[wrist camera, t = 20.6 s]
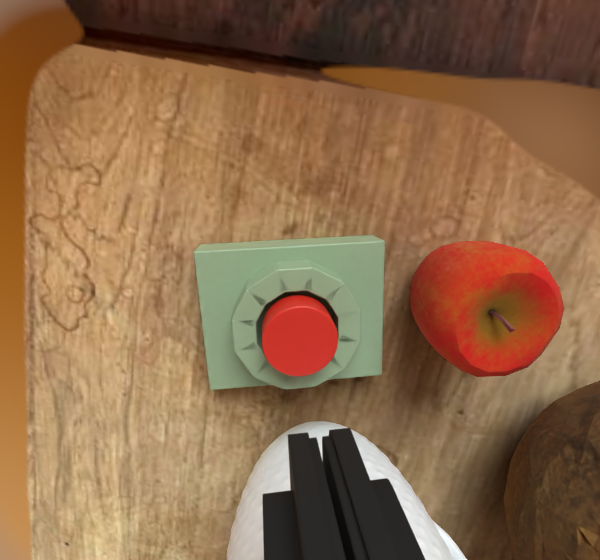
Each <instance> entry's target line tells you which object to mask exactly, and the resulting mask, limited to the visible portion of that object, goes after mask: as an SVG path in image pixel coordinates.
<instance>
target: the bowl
mask: <svg viewBox="0 0 600 560" xmlns="http://www.w3.org/2000/svg"><path fill="white" fill-rule="evenodd" d="M504 505H505V514H506V523H507V531H508V538H509V544H510V551H511V556H512V560H600V381H598V382H595V383H593V384H590V385H587V386H585V387H582V388H580V389H578V390H576V391H574V392H572V393H570V394H568V395H566V396H564V397H562V398H560V399H558V400H556V401H554V402H553V403H552V404H551V405H549V406H548V407H547V408H546V409H545V410H543V412H542V413H541V414H540V415H539V416H538V417H537V418H536V419H535V420H534V421H533V422H532V424H531V425H530V426H529V427H528V428H527V429H526V431H525V433H524V435H523V437H522V438H521V440H520V442H519V444H518V446H517V448H516V450H515V453H514V455H513V457H512V459H511V462H510V467H509V472H508V478H507V485H506V490H505V494H504Z"/></svg>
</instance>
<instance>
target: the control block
mask: <svg viewBox="0 0 600 560" xmlns="http://www.w3.org/2000/svg"><path fill="white" fill-rule="evenodd" d="M384 256H385V241H383V240H381V239H379V238H377V237H376V236H374V235H363V236H344V237H326V238H308V239H290V240H272V241H253V242H235V243H217V244H201V245H200V246H199V247H198V248H197V249H196V250H195V251H194V261H195V269H196V278H197V286H198V295H199V303H200V312H201V320H202V329H203V337H204V346H205V354H206V363H207V371H208V380H209V388H210V390H219V389H230V388H241V387H253V386H264V385H274V386H277V387H279V388H281V389H295V388H306V387H316V385H317V386H318V385H320V384H321V383H323V382H324V381H326V380H331V379H342V378H353V377H365V376H376V375H381V374H382V342H383V299H384ZM293 295H304V296H309V297H312V298H314V299H316V300H318V301H319V302H320V303H322V304H323V305H324V306H325V308H326V309H327V310H328V312H329V314H330V316H331V318H332V320H333V322H334V324H335V326H336V329H337V332H338V346H337V350H336V353H335V355H334V357H333V358H332V360H331V361H330V362H329V363H328V364H327V365H326V366H325V367H324V368H323V369H321V370H320V371H318V372H316V373H313V374H311V375H307V376H290V375H286V374H284V373H281V372H279V371H278V370H276V369H275V368H274V367H273V366H271V364H270V363H269V362H268V361H267V359H266V357H265V355H264V352H263V349H262V322H263V319H264V317H265V314H266V313H267V311H268V310H269V308H270V307H271V306H272V305H273V304H274V303H276V302H277V301H279V300H281V299H283V298H285V297H288V296H293Z"/></svg>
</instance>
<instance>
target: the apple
mask: <svg viewBox="0 0 600 560" xmlns="http://www.w3.org/2000/svg"><path fill="white" fill-rule="evenodd" d="M410 306H411V310H412V313H413V317H414V319H415V321H416V324H417V325H418V327H419V329H420V330H421V332H422V333H423V335H424V337H425V338H426V339H427V341H428V342H429V343H430V344H431V346H432V347H433V348H434V349H435V350H436V351H437V352H438V353H439V354H440V355H441V356H442V357H444V358H445V359H446V360H448V361H449V362H450V363H452V364H453V365H455V366H456V367H457V368H459V369H460V370H461V371H464V372H466V373H469V374H472V375H474V376H477V377H484V376H506V375H509V374H511V373H514V372H516V371H519V370H522V369H524V368H527V367H528V366H529V365H531V364H532V363H533V362H534V361H535V360H536V359H537V358H538V357H539V356H540V355H541V354H542V353H543V351H544V350H545V348H546V347H547V345H548V344H549V343H550V341H551V340H552V338H553V337H554V335H555V334H556V333H557V331H558V330H559V328H560V324H561V319H562V315H563V311H564V306H563V302H562V297H561V293H560V288H559V287H558V285H557V283H556V282H555V280H554V279H553V277H552V276H551V274H550V273H549V271H548V270H547V268H546V266H545V265H544V263H543V262H542V261H540V260H539V259H537V258H536V257H534V256H533V255H531V254H530V253H528V252H527V251H525V250H522V249H518V248H514V247H510V246H506V245H502V244H498V243H494V242H489V241H465V242H456V243H452V244H448V245H445V246H442V247H439V248H438V249H436V250H434V251H433V252H431V253H430V254H429V255H428V256H427V257H426V258H425V259H424V260H423V262H422V263H421V264H420V266H419V267H418V269H417V270H416V272H415V274H414V276H413V278H412V282H411V287H410Z"/></svg>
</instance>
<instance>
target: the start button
mask: <svg viewBox="0 0 600 560" xmlns="http://www.w3.org/2000/svg"><path fill="white" fill-rule="evenodd" d="M337 346H338V332H337V329H336V326H335V324H334V322H333V320H332V318H331V316H330V314H329V312H328V310H327V309H326V308H325V306H324V305H323V304H322V303H320V302H319V301H318V300H316V299H314V298H312V297H309V296H304V295H293V296H288V297H285V298H283V299H281V300H279V301H277V302H276V303H274V304H273V305H272V306H271V307H270V308H269V310H268V311H267V313H266V314H265V317H264V319H263V322H262V349H263V352H264V355H265V357H266V359H267V361H268V362H269V363H270V364H271V366H273V367H274V368H275V369H276V370H278V371H279V372H281V373H284V374H286V375H290V376H307V375H311V374H313V373H316V372H318V371H320V370H321V369H323V368H324V367H325V366H326V365H327V364H328V363H329V362H330V361H331V360H332V358H333V357H334V355H335V353H336V350H337Z"/></svg>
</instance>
